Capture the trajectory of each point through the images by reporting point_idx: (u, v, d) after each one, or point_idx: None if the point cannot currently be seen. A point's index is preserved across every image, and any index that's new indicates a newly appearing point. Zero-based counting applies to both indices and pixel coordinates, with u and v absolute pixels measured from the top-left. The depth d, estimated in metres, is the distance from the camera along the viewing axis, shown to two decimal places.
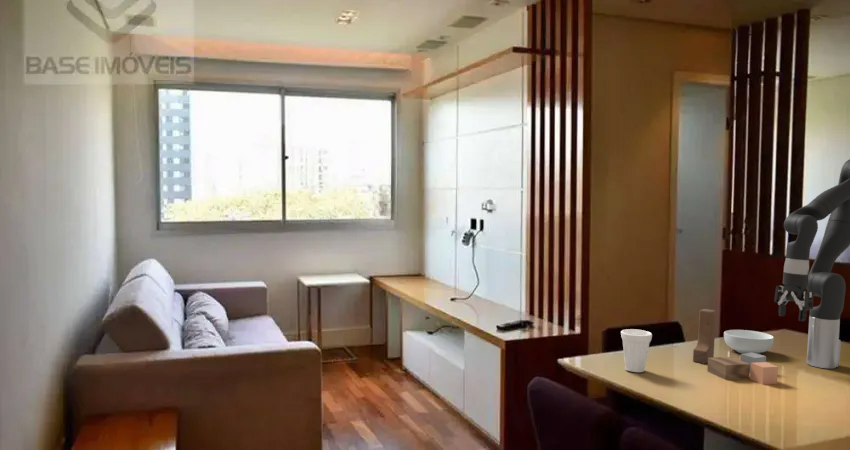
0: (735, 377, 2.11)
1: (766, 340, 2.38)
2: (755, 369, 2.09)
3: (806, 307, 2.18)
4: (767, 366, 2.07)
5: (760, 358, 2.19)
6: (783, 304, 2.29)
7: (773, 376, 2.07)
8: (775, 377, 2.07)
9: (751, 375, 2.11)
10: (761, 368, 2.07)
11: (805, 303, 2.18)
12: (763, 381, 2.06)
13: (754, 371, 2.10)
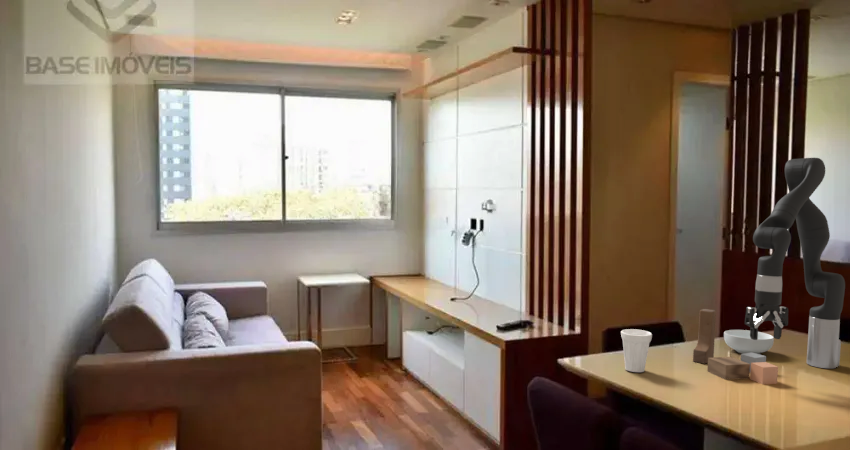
0: (735, 377, 2.11)
1: (766, 340, 2.38)
2: (755, 369, 2.09)
3: (787, 323, 2.09)
4: (767, 366, 2.07)
5: (760, 358, 2.19)
6: None
7: (773, 376, 2.07)
8: (775, 377, 2.07)
9: (751, 375, 2.11)
10: (761, 368, 2.07)
11: (786, 319, 2.09)
12: (763, 381, 2.06)
13: (754, 371, 2.10)
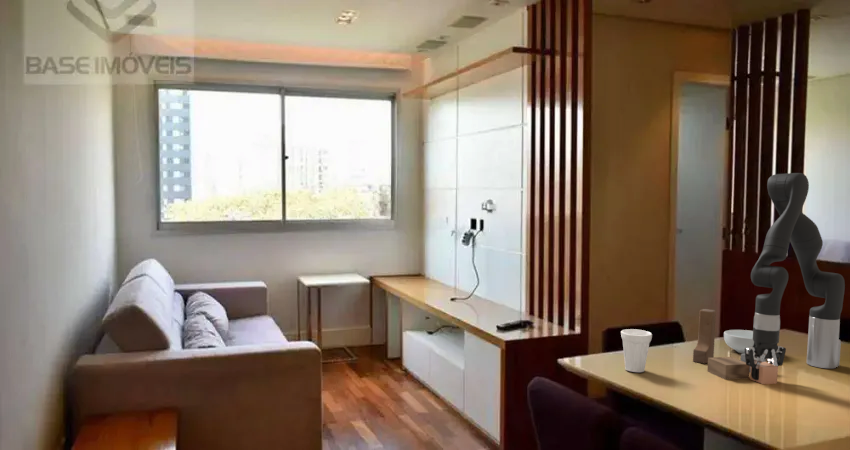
0: (735, 377, 2.11)
1: None
2: None
3: (781, 363, 2.09)
4: (767, 366, 2.07)
5: None
6: None
7: (773, 376, 2.07)
8: (775, 377, 2.07)
9: None
10: (761, 368, 2.07)
11: (781, 359, 2.09)
12: (763, 381, 2.06)
13: None
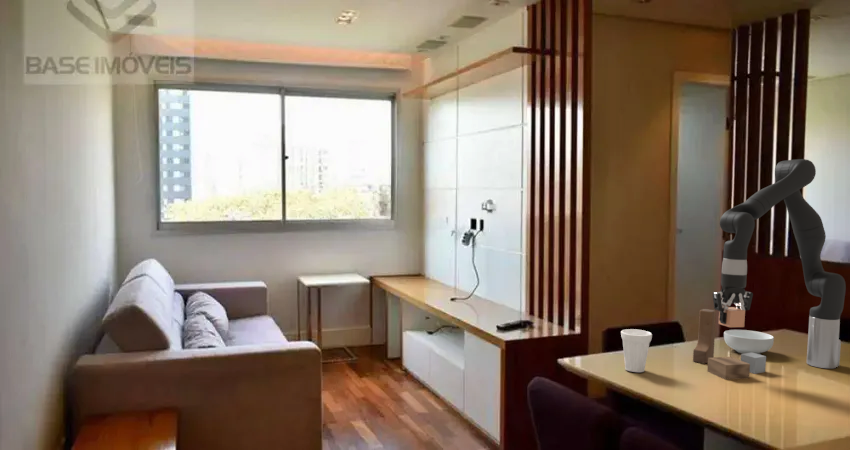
0: (735, 377, 2.11)
1: (766, 340, 2.38)
2: None
3: (749, 308, 2.14)
4: (734, 310, 2.12)
5: (760, 358, 2.19)
6: None
7: (740, 320, 2.12)
8: (742, 320, 2.12)
9: None
10: (728, 312, 2.12)
11: (748, 304, 2.14)
12: (730, 324, 2.11)
13: None
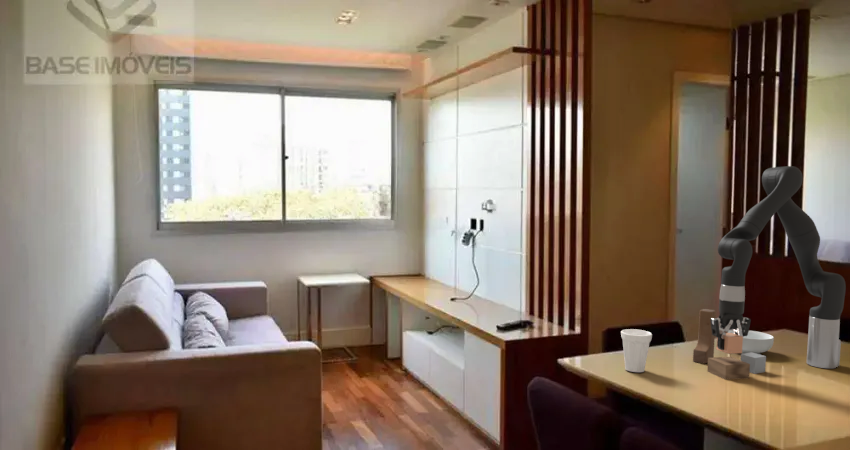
0: (735, 377, 2.11)
1: (766, 340, 2.38)
2: None
3: (746, 334, 2.15)
4: (732, 336, 2.13)
5: (760, 358, 2.19)
6: None
7: (738, 346, 2.13)
8: (740, 347, 2.13)
9: None
10: (726, 338, 2.13)
11: (746, 330, 2.15)
12: (728, 351, 2.12)
13: None
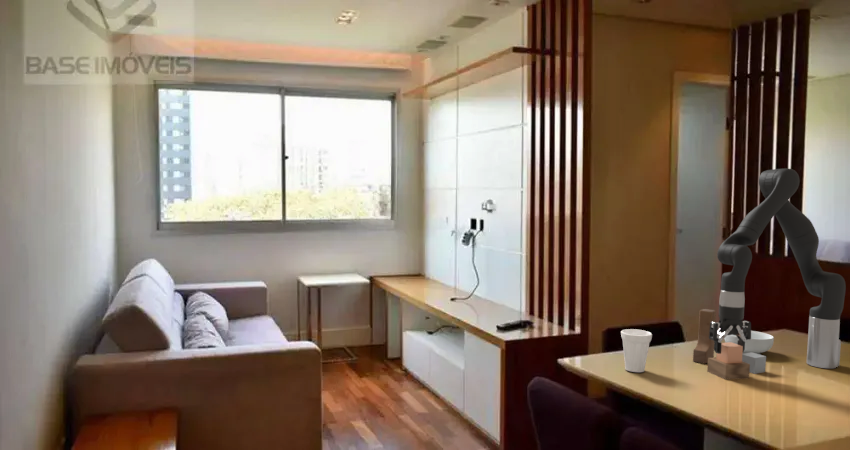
0: (735, 377, 2.11)
1: (766, 340, 2.38)
2: (721, 349, 2.15)
3: (750, 337, 2.15)
4: (732, 346, 2.13)
5: (760, 358, 2.19)
6: None
7: (738, 356, 2.13)
8: (740, 356, 2.13)
9: (717, 355, 2.17)
10: (726, 348, 2.13)
11: (748, 333, 2.15)
12: (728, 360, 2.12)
13: None
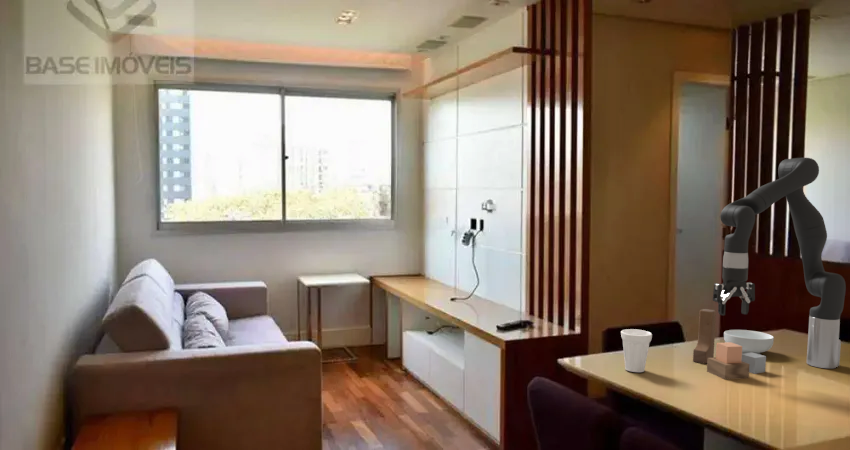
0: (735, 377, 2.11)
1: (766, 340, 2.38)
2: (720, 349, 2.15)
3: (754, 299, 2.15)
4: (731, 346, 2.13)
5: (760, 358, 2.19)
6: None
7: (737, 355, 2.13)
8: (739, 356, 2.13)
9: (717, 355, 2.17)
10: (725, 348, 2.13)
11: (752, 295, 2.15)
12: (727, 360, 2.12)
13: (719, 351, 2.16)
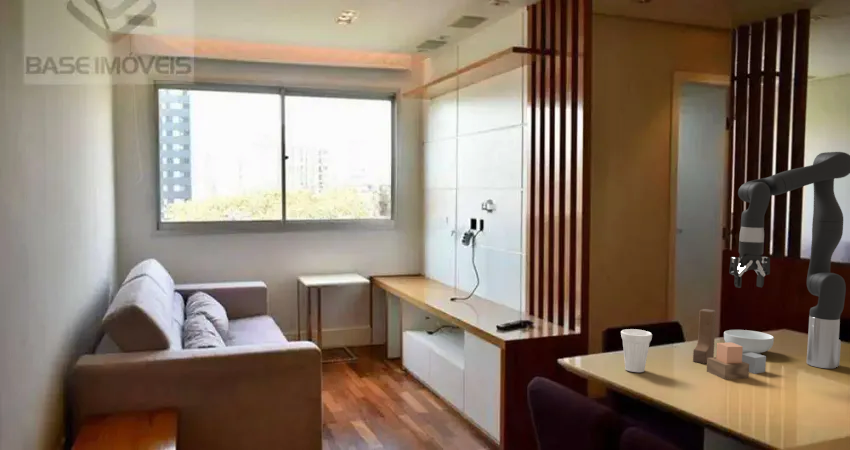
0: (734, 377, 2.11)
1: (766, 340, 2.38)
2: (720, 349, 2.15)
3: (769, 272, 2.24)
4: (732, 346, 2.13)
5: (760, 358, 2.19)
6: None
7: (738, 356, 2.13)
8: (740, 357, 2.13)
9: (717, 355, 2.17)
10: (725, 348, 2.13)
11: (768, 269, 2.23)
12: (727, 360, 2.12)
13: (720, 351, 2.16)
